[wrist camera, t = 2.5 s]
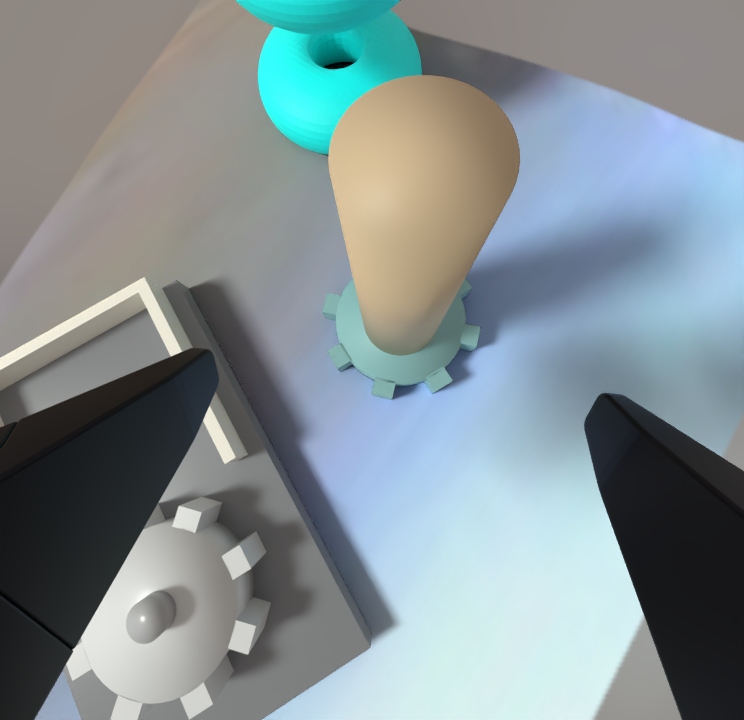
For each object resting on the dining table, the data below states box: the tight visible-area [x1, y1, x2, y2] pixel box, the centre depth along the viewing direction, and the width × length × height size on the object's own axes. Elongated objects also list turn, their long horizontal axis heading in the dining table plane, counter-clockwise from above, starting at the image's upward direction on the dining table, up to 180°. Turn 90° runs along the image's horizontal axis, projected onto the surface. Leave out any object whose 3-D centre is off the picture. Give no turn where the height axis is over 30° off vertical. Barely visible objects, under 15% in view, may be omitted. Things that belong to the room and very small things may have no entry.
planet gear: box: [322, 75, 520, 400], centre depth 14 cm, size 8×8×13 cm
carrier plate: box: [0, 277, 371, 720], centre depth 17 cm, size 21×13×4 cm, turn 31°
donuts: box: [236, 0, 422, 155], centre depth 18 cm, size 10×10×10 cm
